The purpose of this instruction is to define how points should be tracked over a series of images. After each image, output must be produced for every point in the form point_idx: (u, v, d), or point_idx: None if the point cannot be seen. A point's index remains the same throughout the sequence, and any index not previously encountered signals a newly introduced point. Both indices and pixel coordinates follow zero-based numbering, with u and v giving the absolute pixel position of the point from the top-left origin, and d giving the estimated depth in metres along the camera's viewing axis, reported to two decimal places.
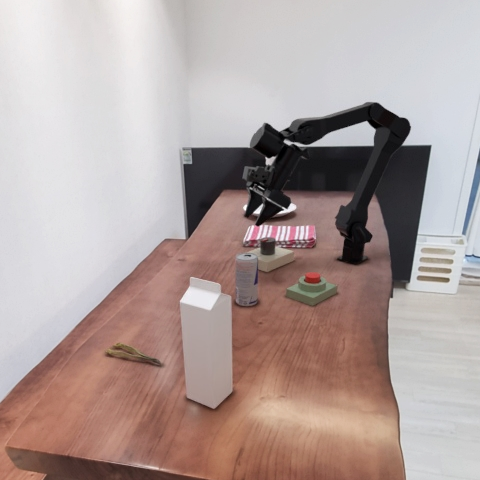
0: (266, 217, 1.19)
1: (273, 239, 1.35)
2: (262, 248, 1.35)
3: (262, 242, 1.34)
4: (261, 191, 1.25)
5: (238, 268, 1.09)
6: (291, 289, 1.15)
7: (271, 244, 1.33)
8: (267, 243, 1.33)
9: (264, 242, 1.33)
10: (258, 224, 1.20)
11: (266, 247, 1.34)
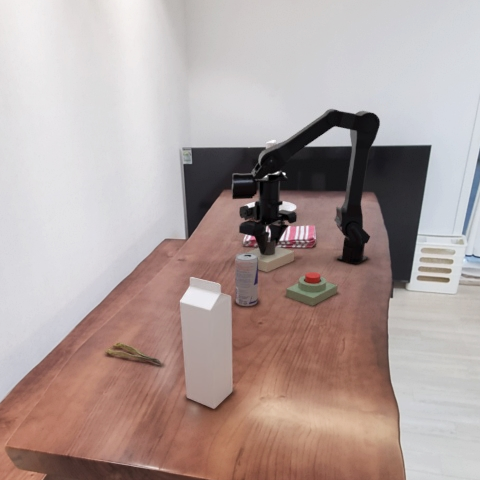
0: (261, 244, 1.32)
1: (273, 239, 1.35)
2: None
3: None
4: None
5: (238, 268, 1.09)
6: (291, 289, 1.15)
7: (271, 244, 1.33)
8: (267, 243, 1.33)
9: None
10: (261, 251, 1.34)
11: (266, 247, 1.34)
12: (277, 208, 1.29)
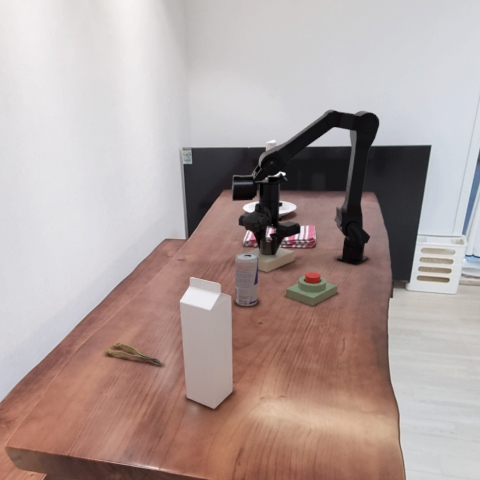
0: (278, 244, 1.33)
1: (267, 237, 1.36)
2: None
3: None
4: None
5: (238, 268, 1.09)
6: (291, 289, 1.15)
7: None
8: None
9: None
10: (275, 253, 1.35)
11: None
12: None
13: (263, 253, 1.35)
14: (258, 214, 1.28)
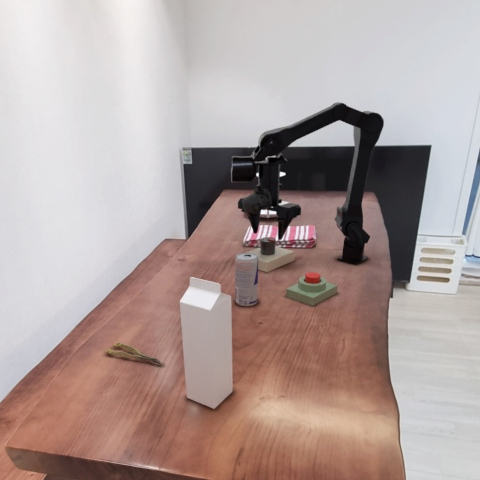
0: (285, 229, 1.29)
1: (267, 237, 1.36)
2: (273, 248, 1.34)
3: (273, 242, 1.33)
4: None
5: (238, 268, 1.09)
6: (291, 289, 1.15)
7: None
8: (275, 241, 1.34)
9: (274, 241, 1.34)
10: (281, 237, 1.31)
11: (275, 245, 1.35)
12: None
13: (263, 253, 1.35)
14: (258, 196, 1.25)
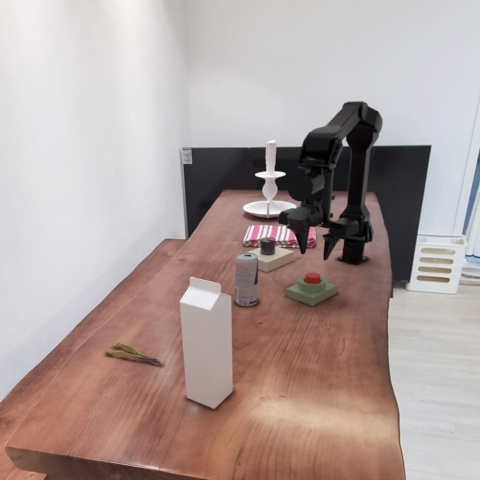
0: (332, 247, 1.08)
1: (267, 237, 1.36)
2: (273, 248, 1.34)
3: (273, 242, 1.33)
4: None
5: (238, 268, 1.09)
6: (291, 289, 1.15)
7: None
8: (275, 241, 1.34)
9: (274, 241, 1.34)
10: (327, 258, 1.09)
11: (275, 245, 1.35)
12: None
13: (263, 253, 1.35)
14: (306, 210, 1.03)
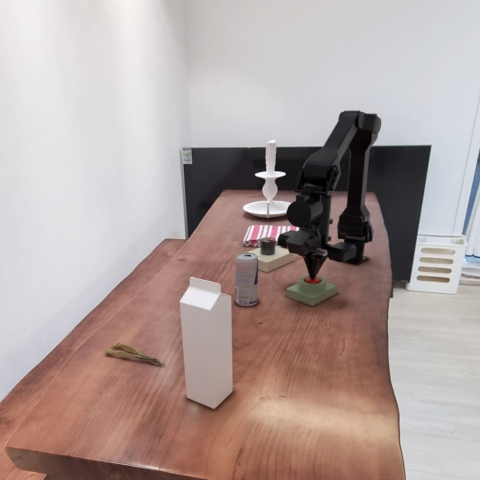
0: (319, 267, 1.13)
1: (267, 237, 1.36)
2: (273, 248, 1.34)
3: (273, 242, 1.33)
4: None
5: (238, 268, 1.09)
6: (291, 289, 1.15)
7: None
8: (275, 241, 1.34)
9: (274, 241, 1.34)
10: (314, 276, 1.14)
11: (275, 245, 1.35)
12: None
13: (263, 253, 1.35)
14: (305, 234, 1.06)
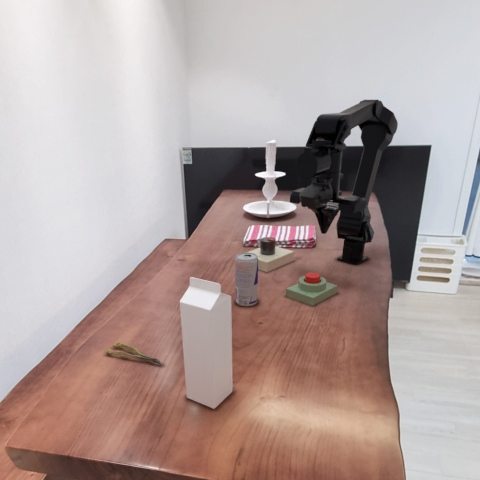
0: (330, 221, 1.18)
1: (267, 237, 1.36)
2: (273, 248, 1.34)
3: (273, 242, 1.33)
4: None
5: (238, 268, 1.09)
6: (291, 289, 1.15)
7: None
8: (275, 241, 1.34)
9: (274, 241, 1.34)
10: (326, 231, 1.19)
11: (275, 245, 1.35)
12: None
13: (263, 253, 1.35)
14: (317, 188, 1.11)
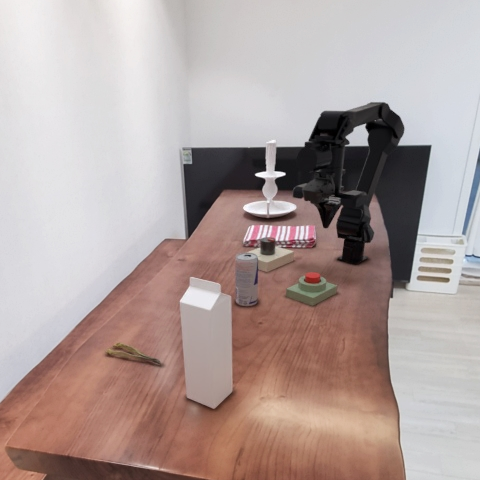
0: (332, 216, 1.20)
1: (267, 237, 1.36)
2: (273, 248, 1.34)
3: (273, 242, 1.33)
4: None
5: (238, 268, 1.09)
6: (291, 289, 1.15)
7: None
8: (275, 241, 1.34)
9: (274, 241, 1.34)
10: (327, 226, 1.21)
11: (275, 245, 1.35)
12: None
13: (263, 253, 1.35)
14: (320, 182, 1.13)
